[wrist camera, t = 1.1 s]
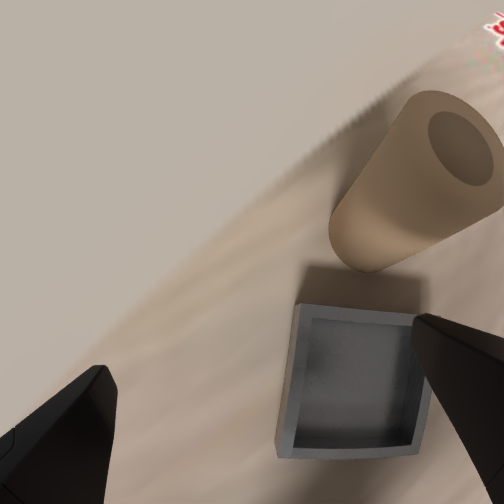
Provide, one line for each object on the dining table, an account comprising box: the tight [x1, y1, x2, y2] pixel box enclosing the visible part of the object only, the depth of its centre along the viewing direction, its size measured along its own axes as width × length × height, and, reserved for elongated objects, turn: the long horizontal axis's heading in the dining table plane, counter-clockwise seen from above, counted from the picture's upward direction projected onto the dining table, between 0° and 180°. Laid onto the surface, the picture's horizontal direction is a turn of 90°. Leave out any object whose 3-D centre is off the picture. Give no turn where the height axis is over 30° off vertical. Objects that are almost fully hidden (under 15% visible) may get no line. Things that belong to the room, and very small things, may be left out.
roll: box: [329, 91, 504, 272], centre depth 17 cm, size 6×6×13 cm
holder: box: [274, 303, 440, 460], centre depth 19 cm, size 10×10×3 cm
